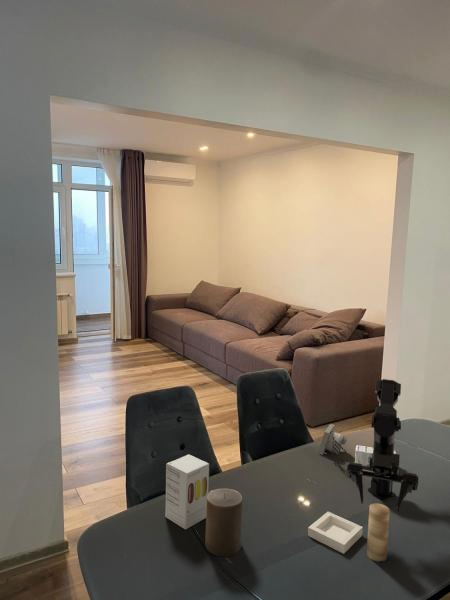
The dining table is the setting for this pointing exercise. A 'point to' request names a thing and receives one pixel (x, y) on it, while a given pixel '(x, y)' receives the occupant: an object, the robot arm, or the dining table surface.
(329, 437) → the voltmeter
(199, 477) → the supplement box
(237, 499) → the pillar candle
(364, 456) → the syrup box
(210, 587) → the dining table surface
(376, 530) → the wooden tool handle
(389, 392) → the robot arm
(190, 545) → the dining table surface
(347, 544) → the tool holder
